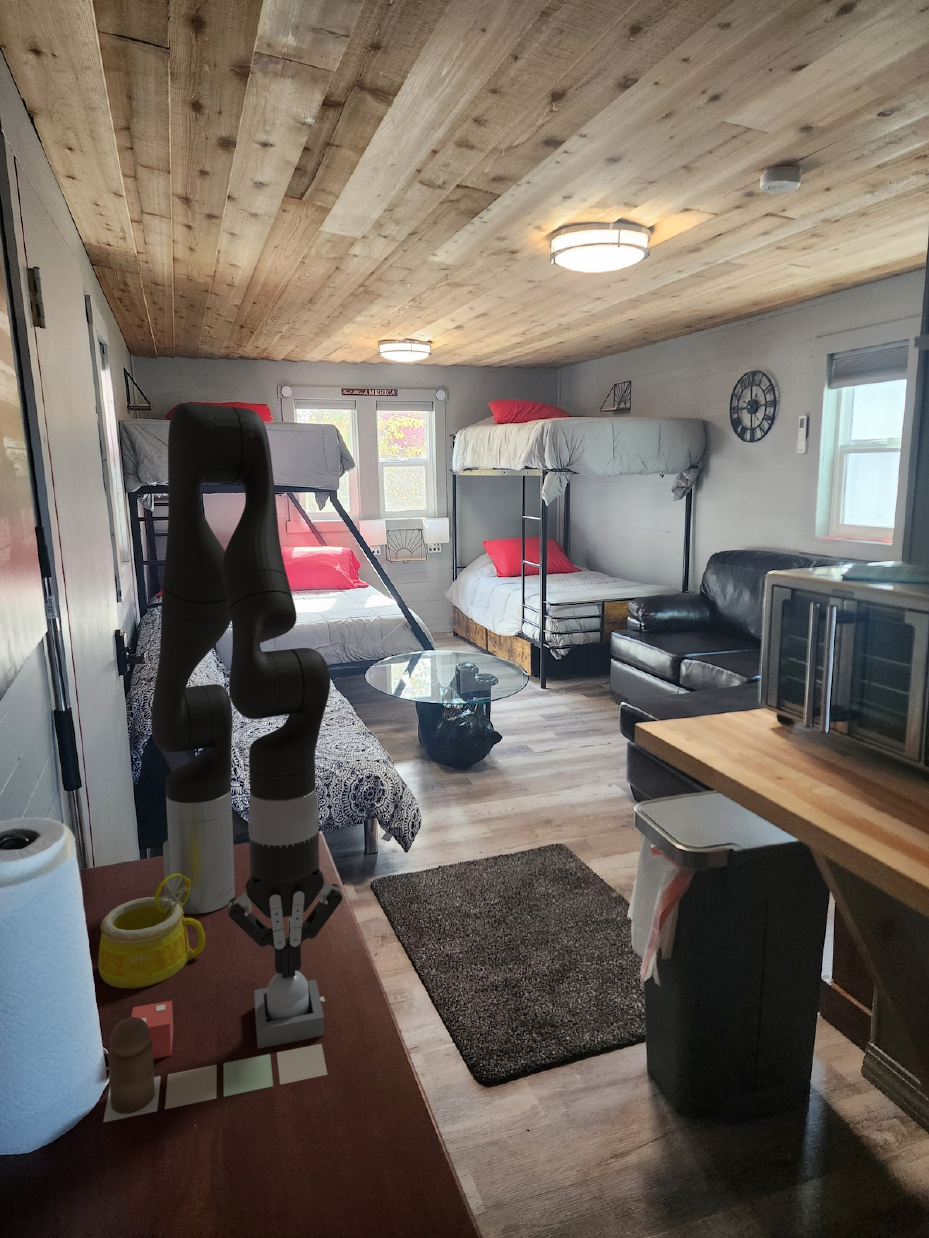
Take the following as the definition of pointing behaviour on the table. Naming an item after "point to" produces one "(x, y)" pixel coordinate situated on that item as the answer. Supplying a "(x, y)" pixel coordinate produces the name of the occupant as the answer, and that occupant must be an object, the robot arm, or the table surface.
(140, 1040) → the brown round-topped cylinder
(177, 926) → the mug
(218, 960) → the table surface
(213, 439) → the robot arm
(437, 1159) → the table surface
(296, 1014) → the capsule
